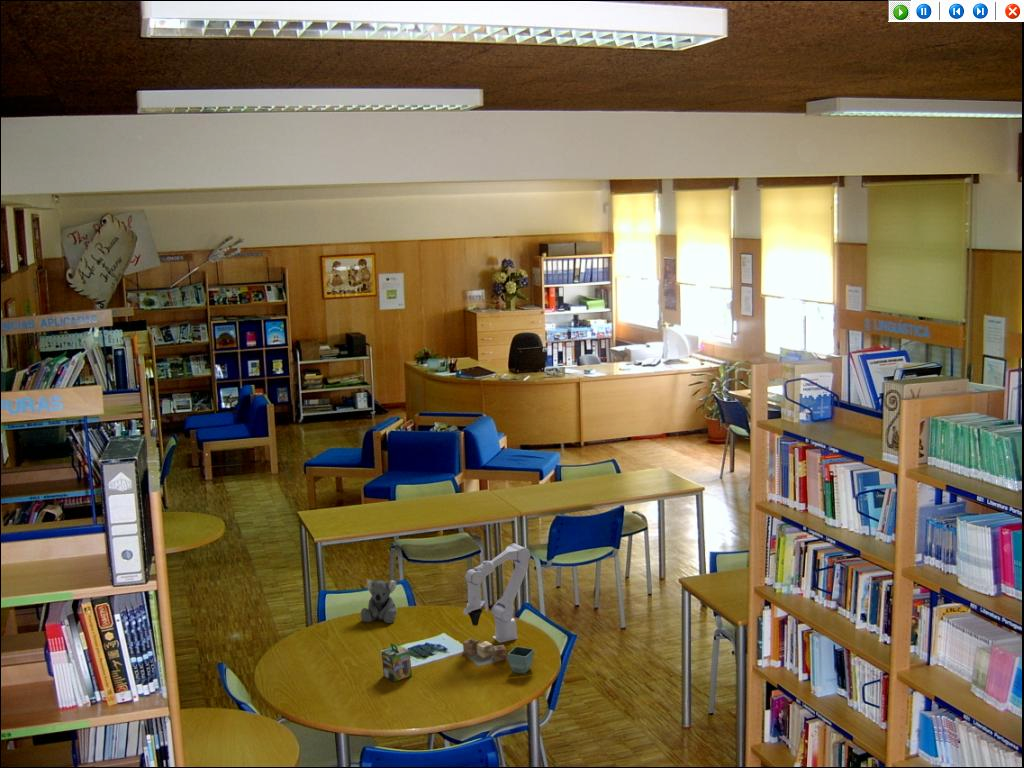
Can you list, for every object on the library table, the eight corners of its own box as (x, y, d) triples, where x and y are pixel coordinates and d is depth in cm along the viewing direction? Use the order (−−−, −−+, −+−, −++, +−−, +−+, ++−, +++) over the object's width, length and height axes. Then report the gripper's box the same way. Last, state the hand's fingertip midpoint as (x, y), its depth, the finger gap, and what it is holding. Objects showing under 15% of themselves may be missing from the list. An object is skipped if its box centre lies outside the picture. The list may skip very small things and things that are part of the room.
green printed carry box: (412, 676, 465) (410, 643, 462) (394, 682, 459) (392, 649, 457) (400, 669, 472) (398, 637, 469) (382, 676, 466) (380, 643, 464)
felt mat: (492, 645, 493) (492, 644, 493) (509, 659, 477) (509, 658, 477) (462, 652, 487) (462, 651, 487) (478, 667, 471) (478, 666, 471)
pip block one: (504, 655, 481) (504, 644, 480) (506, 660, 476) (505, 649, 475) (493, 656, 480) (492, 645, 479) (495, 661, 475) (494, 650, 474)
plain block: (486, 651, 486) (486, 640, 485) (492, 655, 482) (492, 644, 481) (477, 654, 483) (476, 643, 482) (483, 658, 479) (483, 647, 478)
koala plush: (359, 623, 527) (356, 585, 523) (369, 609, 544) (367, 572, 541) (393, 624, 524) (391, 585, 520) (403, 610, 541) (401, 573, 538)
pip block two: (471, 648, 490) (470, 638, 489) (479, 651, 486) (478, 640, 486) (463, 652, 486) (463, 641, 485) (471, 655, 483) (471, 644, 482)
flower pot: (535, 668, 467) (534, 648, 465) (527, 676, 459) (526, 656, 457) (516, 665, 470) (515, 646, 469) (508, 674, 463) (507, 654, 461)
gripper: (476, 589, 497) (477, 618, 499) (457, 599, 485) (458, 628, 487) (489, 592, 493) (490, 621, 495) (470, 602, 481) (470, 631, 483)
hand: (475, 625), depth 491 cm, fingers closed
